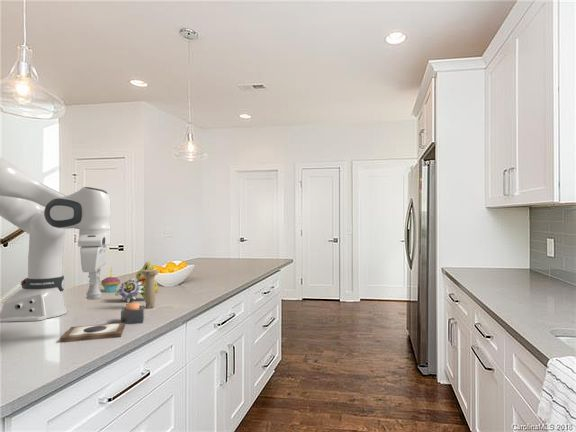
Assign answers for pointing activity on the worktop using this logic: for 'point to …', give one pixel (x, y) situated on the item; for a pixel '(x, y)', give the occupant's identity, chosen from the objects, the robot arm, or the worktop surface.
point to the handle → (150, 287)
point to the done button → (132, 306)
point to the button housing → (132, 315)
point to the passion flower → (131, 290)
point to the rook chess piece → (94, 291)
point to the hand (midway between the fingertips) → (94, 283)
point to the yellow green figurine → (143, 278)
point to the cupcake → (110, 283)
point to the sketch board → (93, 332)
